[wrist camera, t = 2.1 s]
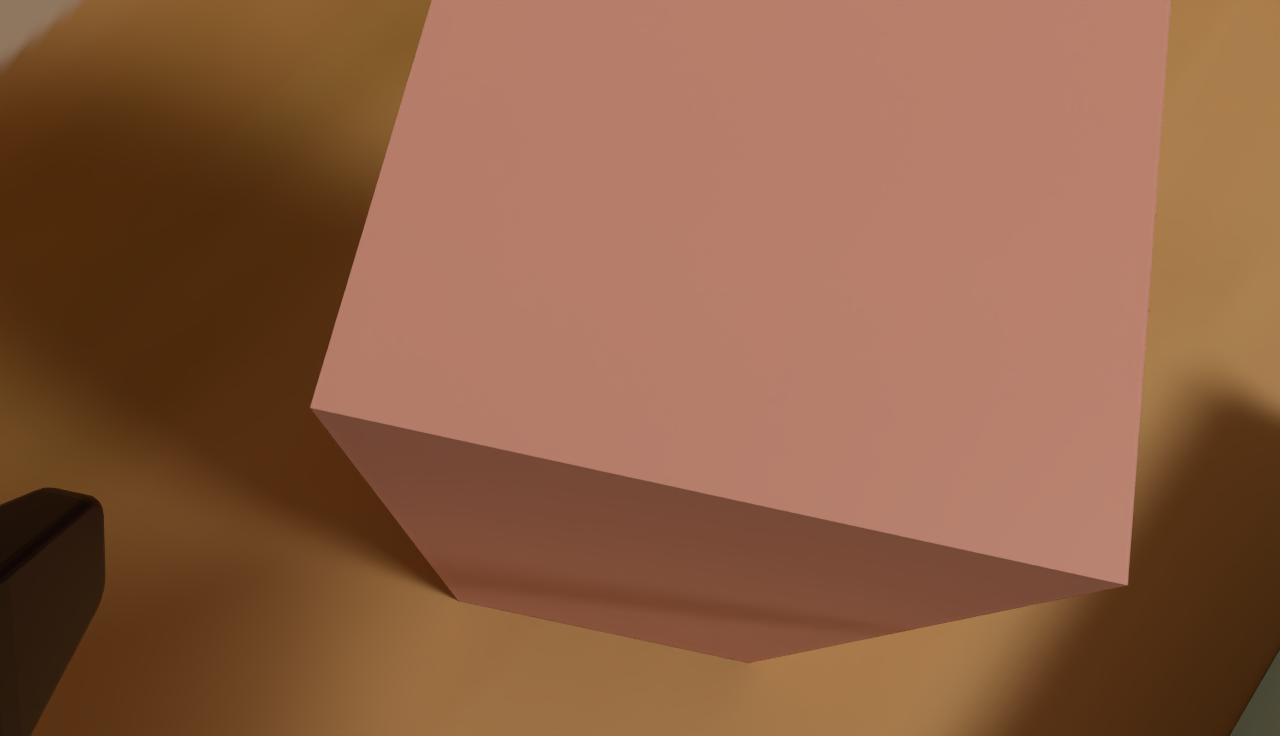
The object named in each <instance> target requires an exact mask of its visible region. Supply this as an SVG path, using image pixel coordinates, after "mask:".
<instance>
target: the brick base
mask: <svg viewBox="0 0 1280 736" xmlns="http://www.w3.org/2000/svg"><path fill="white" fill-rule="evenodd" d="M1230 736H1280V650H1279V652H1278V654H1277V655H1276V657H1275V659H1274V660H1273V662H1272V664H1271V666H1270V667H1269V669H1268V671H1267V672H1266V674H1265V676H1264V678H1263V679H1262V681H1261V683H1260V685H1259V686H1258V688H1257V690H1256V691H1255V693H1254V695H1253V697H1252V698H1251V700H1250V702H1249V703H1248V705H1247V707H1246V709H1245V710H1244V712H1243V714H1242V715H1241V717H1240V719H1239V721H1238V722H1237V724H1236V726H1235V727H1234V729H1233V731H1232V733H1231V734H1230Z"/></svg>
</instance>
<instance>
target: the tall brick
mask: <svg viewBox="0 0 1280 736" xmlns="http://www.w3.org/2000/svg"><path fill="white" fill-rule="evenodd" d="M1170 8H1171V0H432V2H431V5H430V9H429V12H428V15H427V19H426V22H425V25H424V29H423V32H422V35H421V39H420V42H419V45H418V49H417V52H416V55H415V59H414V62H413V65H412V69H411V72H410V75H409V79H408V82H407V85H406V89H405V92H404V95H403V99H402V102H401V105H400V109H399V112H398V115H397V119H396V122H395V125H394V129H393V132H392V135H391V139H390V142H389V145H388V149H387V152H386V155H385V159H384V162H383V165H382V169H381V172H380V176H379V179H378V182H377V186H376V189H375V192H374V196H373V199H372V202H371V206H370V209H369V212H368V216H367V219H366V222H365V226H364V229H363V232H362V236H361V239H360V242H359V246H358V249H357V252H356V256H355V259H354V262H353V266H352V269H351V272H350V276H349V279H348V282H347V286H346V289H345V292H344V296H343V299H342V302H341V306H340V309H339V312H338V316H337V319H336V322H335V326H334V329H333V332H332V336H331V339H330V342H329V346H328V349H327V353H326V356H325V359H324V363H323V366H322V369H321V373H320V376H319V379H318V383H317V386H316V389H315V393H314V396H313V399H312V403H311V406H310V408H311V410H312V411H313V412H314V414H315V415H316V416H317V418H318V419H319V420H320V421H321V423H322V424H323V425H324V427H325V428H326V429H327V431H328V432H329V433H330V434H331V436H332V437H333V438H334V440H335V441H336V442H337V444H338V445H339V446H340V448H341V449H342V450H343V451H344V453H345V454H346V455H347V457H348V458H349V459H350V461H351V462H352V463H353V464H354V466H355V467H356V468H357V470H358V471H359V472H360V474H361V475H362V476H363V477H364V479H365V480H366V481H367V483H368V484H369V485H370V487H371V488H372V489H373V490H374V492H375V493H376V494H377V496H378V497H379V498H380V500H381V501H382V502H383V504H384V505H385V506H386V507H387V509H388V510H389V511H390V513H391V514H392V515H393V517H394V518H395V519H396V520H397V522H398V523H399V524H400V526H401V527H402V528H403V530H404V531H405V532H406V533H407V535H408V536H409V537H410V539H411V540H412V541H413V543H414V544H415V545H416V547H417V548H418V549H419V550H420V552H421V553H422V554H423V556H424V557H425V558H426V560H427V561H428V562H429V563H430V565H431V566H432V567H433V569H434V570H435V571H436V573H437V574H438V575H439V576H440V578H441V579H442V580H443V582H444V583H445V584H446V586H447V587H448V588H449V590H450V591H451V592H452V593H453V595H454V596H455V597H456V599H457V600H458V601H461V602H466V603H471V604H475V605H480V606H485V607H489V608H494V609H499V610H503V611H508V612H513V613H517V614H522V615H527V616H531V617H536V618H541V619H545V620H550V621H555V622H559V623H564V624H569V625H573V626H578V627H583V628H587V629H592V630H597V631H601V632H606V633H611V634H615V635H620V636H625V637H629V638H634V639H639V640H643V641H648V642H653V643H657V644H662V645H667V646H672V647H676V648H681V649H686V650H690V651H695V652H700V653H704V654H709V655H714V656H718V657H723V658H728V659H732V660H737V661H742V662H746V663H752V662H756V661H761V660H766V659H771V658H776V657H781V656H786V655H791V654H795V653H800V652H805V651H810V650H815V649H820V648H825V647H830V646H834V645H839V644H844V643H849V642H854V641H859V640H864V639H869V638H873V637H878V636H883V635H888V634H893V633H898V632H903V631H908V630H913V629H917V628H922V627H927V626H932V625H937V624H942V623H947V622H952V621H956V620H961V619H966V618H971V617H976V616H981V615H986V614H991V613H995V612H1000V611H1005V610H1010V609H1015V608H1020V607H1025V606H1030V605H1035V604H1039V603H1044V602H1049V601H1054V600H1059V599H1064V598H1069V597H1074V596H1078V595H1083V594H1088V593H1093V592H1098V591H1103V590H1108V589H1113V588H1117V587H1122V586H1127V585H1128V575H1129V561H1130V548H1131V534H1132V521H1133V507H1134V494H1135V480H1136V467H1137V453H1138V440H1139V426H1140V413H1141V399H1142V386H1143V372H1144V359H1145V345H1146V332H1147V318H1148V305H1149V291H1150V278H1151V264H1152V251H1153V237H1154V224H1155V210H1156V197H1157V183H1158V170H1159V156H1160V143H1161V129H1162V116H1163V102H1164V89H1165V75H1166V62H1167V48H1168V35H1169V21H1170Z"/></svg>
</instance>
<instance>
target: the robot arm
mask: <svg viewBox="0 0 1280 736" xmlns="http://www.w3.org/2000/svg"><path fill="white" fill-rule="evenodd" d="M104 585H105V545H104V515H103V509H102V506H101V504H100V502H99V501H98V500H97V499H96V498H94V497H93V496H90V495H85V494H81V493H76V492H71V491H67V490H62V489H57V488H42V489H39V490H36V491H33V492H31V493H28V494H26V495H23V496H21V497H18V498H16V499H14V500H11V501H9V502H6V503H4V504H1V505H0V736H31V734H32V732H33V730H34V728H35V726H36V724H37V722H38V720H39V719H40V717H41V715H42V713H43V711H44V709H45V707H46V705H47V703H48V702H49V700H50V698H51V696H52V694H53V692H54V690H55V688H56V686H57V685H58V683H59V681H60V679H61V677H62V675H63V673H64V671H65V669H66V667H67V666H68V664H69V662H70V660H71V658H72V656H73V654H74V652H75V650H76V649H77V647H78V645H79V643H80V641H81V639H82V637H83V635H84V633H85V632H86V630H87V628H88V626H89V624H90V622H91V620H92V618H93V616H94V615H95V613H96V611H97V608H98V606H99V604H100V601H101V598H102V595H103V591H104Z"/></svg>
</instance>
